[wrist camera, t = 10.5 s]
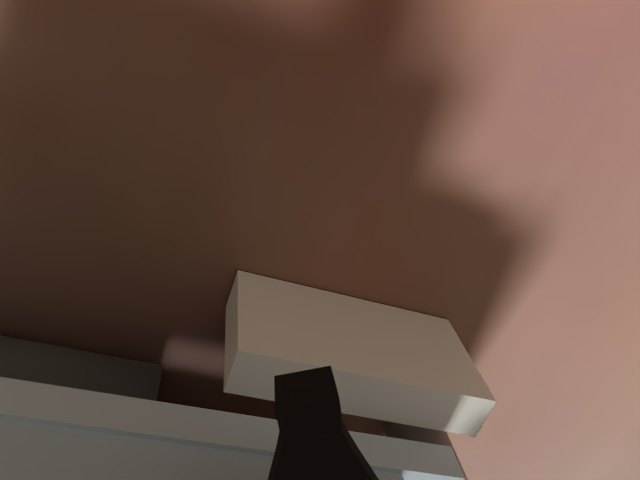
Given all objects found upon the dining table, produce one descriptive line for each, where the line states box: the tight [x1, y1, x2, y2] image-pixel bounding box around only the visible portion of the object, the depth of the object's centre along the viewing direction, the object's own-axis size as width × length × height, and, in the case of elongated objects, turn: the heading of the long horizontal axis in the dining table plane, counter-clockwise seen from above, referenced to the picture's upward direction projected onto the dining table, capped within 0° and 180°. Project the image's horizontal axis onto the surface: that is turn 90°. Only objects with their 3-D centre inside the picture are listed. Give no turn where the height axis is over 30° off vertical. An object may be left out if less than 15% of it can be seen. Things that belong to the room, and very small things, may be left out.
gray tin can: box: [0, 335, 162, 401], centre depth 12 cm, size 6×3×3 cm
